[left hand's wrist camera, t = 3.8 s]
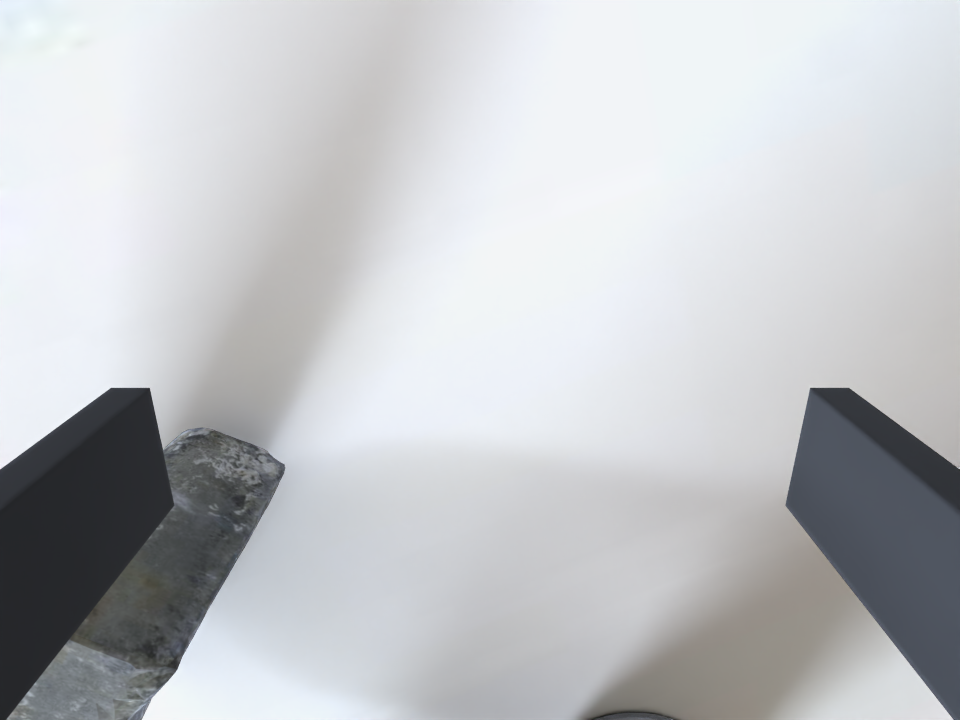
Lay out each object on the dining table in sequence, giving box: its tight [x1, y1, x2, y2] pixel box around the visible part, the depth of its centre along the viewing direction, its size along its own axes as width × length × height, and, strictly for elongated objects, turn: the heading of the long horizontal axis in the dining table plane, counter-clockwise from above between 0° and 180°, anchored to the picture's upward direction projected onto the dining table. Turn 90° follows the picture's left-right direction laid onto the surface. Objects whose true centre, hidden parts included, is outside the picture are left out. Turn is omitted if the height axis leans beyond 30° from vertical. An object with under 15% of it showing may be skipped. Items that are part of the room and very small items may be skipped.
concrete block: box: [6, 428, 285, 720], centre depth 38 cm, size 27×9×20 cm, turn 147°
